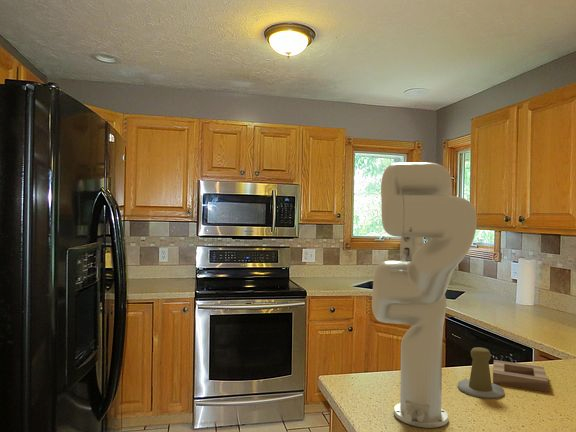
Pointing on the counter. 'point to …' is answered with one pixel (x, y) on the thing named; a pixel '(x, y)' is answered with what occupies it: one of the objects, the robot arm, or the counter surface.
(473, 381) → the cork
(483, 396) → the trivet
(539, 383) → the frame
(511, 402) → the counter surface
